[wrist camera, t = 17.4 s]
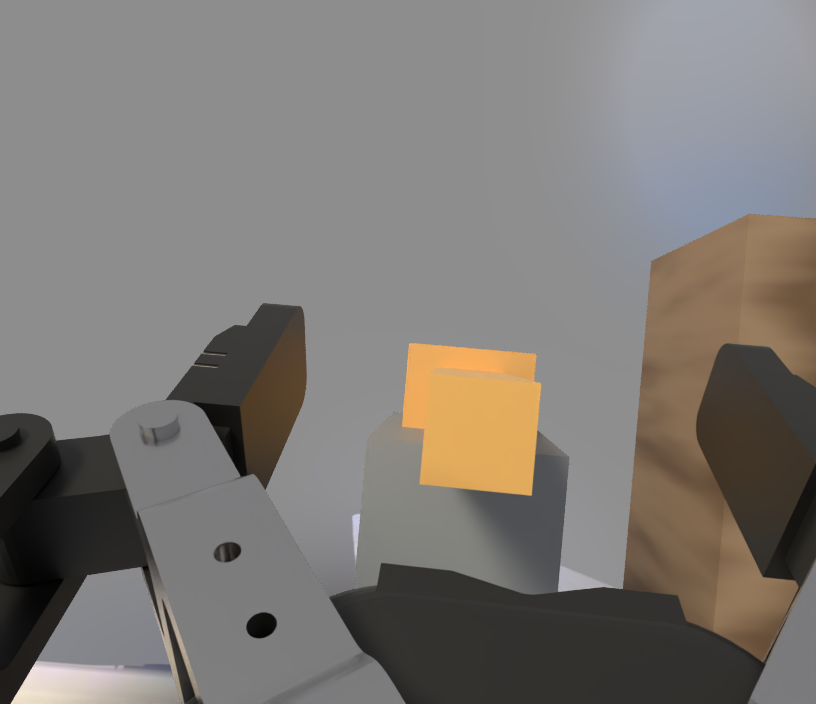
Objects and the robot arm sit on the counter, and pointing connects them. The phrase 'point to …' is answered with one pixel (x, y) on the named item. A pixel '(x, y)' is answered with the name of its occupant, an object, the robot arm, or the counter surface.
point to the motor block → (459, 518)
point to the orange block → (474, 416)
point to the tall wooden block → (678, 407)
